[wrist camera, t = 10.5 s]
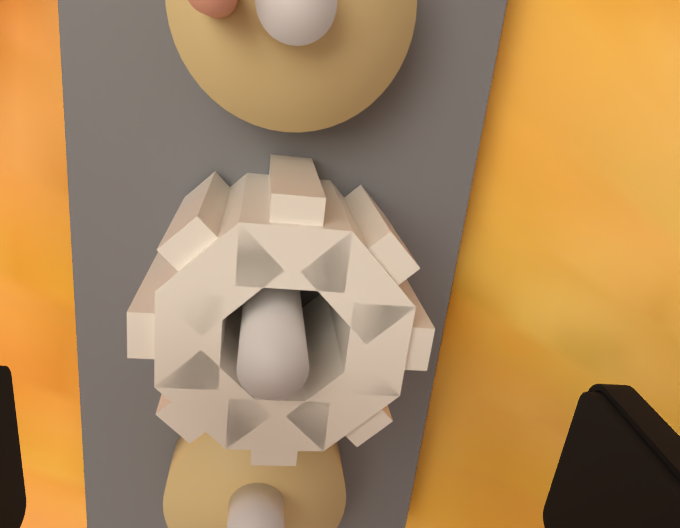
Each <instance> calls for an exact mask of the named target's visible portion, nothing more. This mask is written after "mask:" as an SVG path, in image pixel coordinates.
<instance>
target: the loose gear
mask: <svg viewBox="0 0 680 528" xmlns="http://www.w3.org/2000/svg"><path fill="white" fill-rule="evenodd" d="M157 251H158V253H157V255H156V257H155V259H154V261H153V263H152V264H151V266H150V268H149V270H148V272H147V274H146V276H145V278H144V280H143V282H142V284H141V286H140V287H139V289H138V291H137V293H136V295H135V297H134V299H133V301H132V303H131V305H130V307H129V309H128V310H127V358H136V359H154V388H156V389H157V390H158V391H159V392H160V393H161V397H160V401H159V404H158V407H157V411H156V414H155V415H156V416H158V417H159V418H160V419H161V420H162V421H164V422H165V423H166V424H167V425H168V426H169V427H171V428H172V429H173V430H174V431H175V432H177V433H178V434H179V435H180V436H181V437H182V438H184V439H185V440H186V441H187V442H188V443H191V442H193V441H194V440H195V439H197V438H198V437H199V436H201V435H202V434H203V433H204V432H206V433H207V434H209V435H210V436H211V437H212V438H213V439H214V440H216V441H217V442H218V443H219V444H220V445H221V446H222V447H224V448H225V449H228V450H251V458H250V465H264V466H296V462H297V453H298V451H325V450H326V449H328V448H329V447H330V446H332V445H333V444H334V443H336V442H337V441H339V440H340V439H341V438H343V437H344V436H346V437H347V438H348V439H349V440H350V441H351V442H352V443H353V444H354V445H355V446H356V447H358V446H359V445H361V444H362V443H364V442H365V441H366V440H368V439H369V438H371V437H372V436H373V435H375V434H376V433H378V432H379V431H380V430H382V429H383V428H385V427H386V426H387V425H389V424H390V423H391V422H393V420H392V417H391V414H390V411H389V408H388V404H390V403H391V402H392V401H394V400H395V399H396V398H398V397H399V396H400V392H401V387H402V381H403V376H404V370H418V371H427V368H428V363H429V358H430V353H431V348H432V343H433V337H434V332H435V328H434V326H433V324H432V322H431V321H430V319H429V317H428V315H427V314H426V312H425V310H424V308H423V307H422V305H421V303H420V302H419V300H418V298H417V296H416V295H415V293H414V291H413V289H412V288H411V286H410V284H409V282H408V281H407V278H409V277H410V276H411V275H412V274H414V273H415V272H416V271H418V270H419V269H420V267H419V266H418V264H417V263H416V261H415V260H414V258H413V257H412V255H411V253H410V252H409V250H408V249H407V247H406V246H405V244H404V243H403V241H402V240H401V238H400V237H399V235H398V234H397V232H396V231H395V229H394V228H393V226H392V225H391V223H390V222H389V220H388V219H387V217H386V216H385V214H384V213H383V212H382V210H381V209H380V208H379V207H378V205H377V204H376V203H375V202H374V200H373V199H372V198H371V197H370V195H369V194H368V193H367V192H366V190H365V189H364V188H363V187H362V185H359V186H358V187H357V188H356V189H354V190H353V191H352V192H351V193H349V194H348V195H347V196H346V197H343V195H342V194H341V193H340V192H339V191H338V189H337V188H336V187H335V186H334V184H333V183H332V182H331V181H330V180H321V179H319V177H318V174H317V171H316V169H315V166H314V163H313V160H312V158H304V157H293V156H283V155H273V154H271V158H270V171H269V175H266V174H255V173H246V174H245V175H244V176H243V177H242V178H240V179H239V180H238V181H237V182H236V183H234V184H233V185H232V186H231V187H229V186H228V185H227V184H226V182H225V181H224V180H223V179H222V178H221V177H220V176H219V175H218V174H217V172H216V171H215V172H214V173H213V174H211V175H210V176H209V177H208V178H207V179H205V180H204V181H203V182H202V183H201V184H200V185H198V186H197V187H196V188H195V189H194V190H192V191H191V192H190V193H189V194H188V195H186V196H185V197H184V199H183V201H182V203H181V205H180V207H179V209H178V210H177V212H176V214H175V216H174V218H173V220H172V222H171V224H170V225H169V227H168V229H167V231H166V233H165V235H164V237H163V239H162V240H161V242H160V244H159V246H158V248H157ZM262 288H276V289H292V290H308V291H318V292H319V293H320V295H319V296H317V297H316V298H315V299H314V300H312V301H311V302H310V303H308V304H307V305H306V306H305V307H303V308H302V311H303V319H304V327H305V335H306V343H307V351H308V359H309V375H308V378H307V380H306V382H305V384H304V385H303V387H302V388H301V389H300V390H299V391H298V392H296V393H295V394H293V395H291V396H290V397H287V398H284V399H280V400H264V399H260V398H257V397H255V396H253V395H251V394H249V393H248V392H247V391H246V390H245V389H244V388H243V387H242V386H241V384H240V382H239V380H238V377H237V358H238V348H239V338H240V328H241V317H242V307H243V303H245V302H246V301H247V300H248V299H250V298H251V297H252V296H254V295H255V294H256V293H257V292H259V291H260V290H261V289H262Z"/></svg>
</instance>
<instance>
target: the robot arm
mask: <svg viewBox="0 0 680 528" xmlns="http://www.w3.org/2000/svg"><path fill="white" fill-rule="evenodd" d="M25 510H26V494H25V486H24V477H23V469H22V461H21V452H20V444H19V435H18V427H17V418H16V410H15V401H14V393H13V385H12V376H11V371H10V369H9V367H7V366H0V528H20V526H21V524H22V521H23V518H24V515H25ZM543 521H544V526H545V528H680V436H679V435H678V434H677V433H676V432H675V431H674V430H673V429H672V428H671V427H670V426H669V425H668V424H667V423H666V422H665V421H664V420H663V419H662V418H661V416H660V415H659V414H658V413H657V412H656V411H655V410H654V409H653V408H652V407H651V406H650V405H649V404H648V403H647V402H646V401H645V400H644V399H643V398H642V397H641V396H640V395H639V394H638V393H637V392H636V390H635V389H633V388H632V387H630V386H627V385H610V384H595V385H593V386H592V387H591V388H590V389H589V391H588V392H584V393H583V394H582V395H581V396H580V398H579V401H578V404H577V407H576V410H575V413H574V416H573V419H572V422H571V425H570V429H569V432H568V435H567V438H566V441H565V444H564V447H563V450H562V453H561V456H560V460H559V463H558V466H557V469H556V472H555V475H554V478H553V481H552V484H551V488H550V491H549V494H548V497H547V500H546V503H545V506H544V510H543Z"/></svg>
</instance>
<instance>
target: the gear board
mask: <svg viewBox="0 0 680 528" xmlns="http://www.w3.org/2000/svg"><path fill="white" fill-rule="evenodd" d="M506 5H507V0H58V12H59V30H60V48H61V66H62V84H63V102H64V120H65V137H66V155H67V173H68V191H69V209H70V227H71V245H72V262H73V280H74V298H75V316H76V334H77V352H78V370H79V387H80V405H81V423H82V441H83V459H84V477H85V494H86V512H87V528H405V525H406V520H407V515H408V510H409V505H410V500H411V494H412V489H413V484H414V479H415V474H416V469H417V464H418V458H419V453H420V448H421V443H422V438H423V433H424V427H425V422H426V417H427V412H428V407H429V402H430V397H431V391H432V386H433V381H434V376H435V371H436V366H437V361H438V355H439V350H440V345H441V340H442V335H443V330H444V325H445V319H446V314H447V309H448V304H449V299H450V294H451V288H452V283H453V278H454V273H455V268H456V263H457V258H458V252H459V247H460V242H461V237H462V232H463V227H464V222H465V216H466V211H467V206H468V201H469V196H470V191H471V185H472V180H473V175H474V170H475V165H476V160H477V155H478V149H479V144H480V139H481V134H482V129H483V124H484V119H485V113H486V108H487V103H488V98H489V93H490V88H491V82H492V77H493V72H494V67H495V62H496V57H497V52H498V46H499V41H500V36H501V31H502V26H503V21H504V16H505V10H506ZM271 154H273V155H283V156H293V157H304V158H312V160H313V163H314V166H315V169H316V171H317V174H318V177H319V179H321V180H330V181H331V182H332V183H333V184H334V186H335V187H336V188H337V189H338V191H339V192H340V193H341V194H342V195H343V197H346V196H347V195H348V194H349V193H351V192H352V191H353V190H354V189H356V188H357V187H358V186H359V185H362V187H363V188H364V189H365V190H366V192H367V193H368V194H369V195H370V197H371V198H372V199H373V200H374V202H375V203H376V204H377V205H378V207H379V208H380V209H381V210H382V212H383V213H384V214H385V216H386V217H387V219H388V220H389V222H390V223H391V225H392V226H393V228H394V229H395V231H396V232H397V234H398V235H399V237H400V238H401V240H402V241H403V243H404V244H405V246H406V247H407V249H408V250H409V252H410V253H411V255H412V257H413V258H414V260H415V261H416V263H417V264H418V266H419V267H420V269H419V270H418V271H416V272H415V273H414V274H412V275H411V276H410V277H409V278H407V281H408V282H409V284H410V286H411V288H412V289H413V291H414V293H415V295H416V296H417V298H418V300H419V302H420V303H421V305H422V307H423V308H424V310H425V312H426V314H427V315H428V317H429V319H430V321H431V322H432V324H433V326H434V328H435V332H434V337H433V343H432V348H431V353H430V358H429V363H428V368H427V371H418V370H404V376H403V381H402V387H401V392H400V396H399V397H398V398H396V399H395V400H394V401H392V402H391V403H390V404H388V408H389V411H390V414H391V417H392V420H393V422H391V423H390V424H389V425H387V426H386V427H385V428H383V429H382V430H380V431H379V432H378V433H376V434H375V435H373V436H372V437H371V438H369V439H368V440H366V441H365V442H364V443H362V444H361V445H359V446H358V447H356V446H355V445H354V444H353V443H352V442H351V441H350V440H349V439H348V438H347V437H346V436H344V437H343V438H341V439H340V440H339V441H337V442H336V443H334V444H333V445H332V446H330V447H329V448H328V449H326V450H325V451H298V453H297V462H296V466H264V465H250V458H251V450H228V449H225V448H224V447H222V446H221V445H220V444H219V443H218V442H217V441H216V440H214V439H213V438H212V437H211V436H210V435H209V434H207V433H206V432H204V433H203V434H202V435H201V436H199V437H198V438H197V439H195V440H194V441H193V442H191V443H188V442H187V441H186V440H185V439H184V438H182V437H181V436H180V435H179V434H178V433H177V432H175V431H174V430H173V429H172V428H171V427H169V426H168V425H167V424H166V423H165V422H164V421H162V420H161V419H160V418H159V417H158V416H156V415H155V414H156V411H157V407H158V404H159V401H160V397H161V393H160V392H159V391H158V390H157V389H156V388H154V359H136V358H127V310H128V309H129V307H130V305H131V303H132V301H133V299H134V297H135V295H136V293H137V291H138V289H139V287H140V286H141V284H142V282H143V280H144V278H145V276H146V274H147V272H148V270H149V268H150V266H151V264H152V263H153V261H154V259H155V257H156V255H157V253H158V251H157V248H158V246H159V244H160V242H161V240H162V239H163V237H164V235H165V233H166V231H167V229H168V227H169V225H170V224H171V222H172V220H173V218H174V216H175V214H176V212H177V210H178V209H179V207H180V205H181V203H182V201H183V199H184V197H185V196H186V195H188V194H189V193H190V192H191V191H192V190H194V189H195V188H196V187H197V186H198V185H200V184H201V183H202V182H203V181H204V180H205V179H207V178H208V177H209V176H210V175H211V174H213V173H214V172H215V171H216V172H217V174H218V175H219V176H220V177H221V178H222V179H223V180H224V181H225V182H226V184H227V185H228V186H229V187H231V186H232V185H233V184H234V183H236V182H237V181H238V180H239V179H240V178H242V177H243V176H244V175H245V174H246V173H255V174H266V175H269V171H270V158H271ZM319 295H320V293H319V292H318V291H308V290H292V289H276V288H262V289H261V290H260V291H259V292H257V293H256V294H255V295H254V296H252V297H251V298H250V299H248V300H247V301H246V302H245V303H243V307H242V317H241V328H240V338H239V348H238V358H237V377H238V380H239V382H240V384H241V386H242V387H243V388H244V389H245V390H246V391H247V392H248V393H249V394H251V395H253V396H255V397H257V398H260V399H264V400H280V399H284V398H287V397H290V396H291V395H293V394H295V393H296V392H298V391H299V390H300V389H301V388H302V387H303V385H304V384H305V382H306V380H307V378H308V375H309V359H308V351H307V343H306V335H305V327H304V319H303V311H302V308H303V307H305V306H306V305H307V304H308V303H310V302H311V301H312V300H314V299H315V298H316V297H317V296H319Z"/></svg>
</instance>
